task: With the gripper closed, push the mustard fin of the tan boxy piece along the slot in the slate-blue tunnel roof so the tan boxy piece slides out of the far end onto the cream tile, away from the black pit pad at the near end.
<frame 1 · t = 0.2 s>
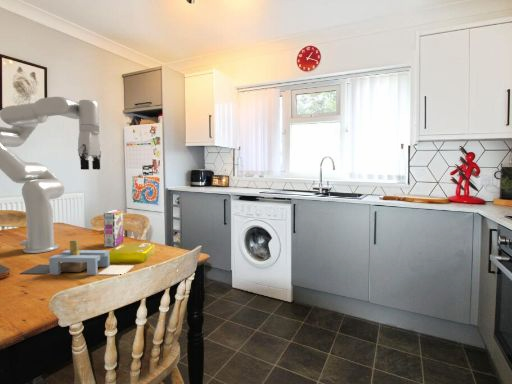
hand: (90, 169, 126), 36 cm above the table, tool pointing down, fingers open, 9 cm apart
element tile: (132, 258, 120), on the table
tunnel: (81, 269, 104), on the table
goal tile: (116, 270, 104), on the table
pit pad: (42, 269, 104), on the table
candy bar box: (114, 244, 139), on the table
tan boxy piece: (74, 254, 104), point 6 cm above the table, slide at -2.0 cm
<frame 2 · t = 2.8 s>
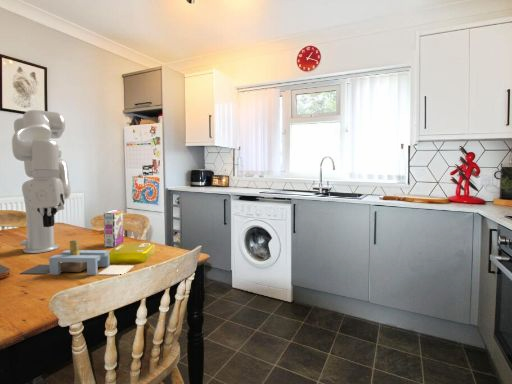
hand: (48, 226, 103), 16 cm above the table, tool pointing down, fingers closed
nothing on the table moved.
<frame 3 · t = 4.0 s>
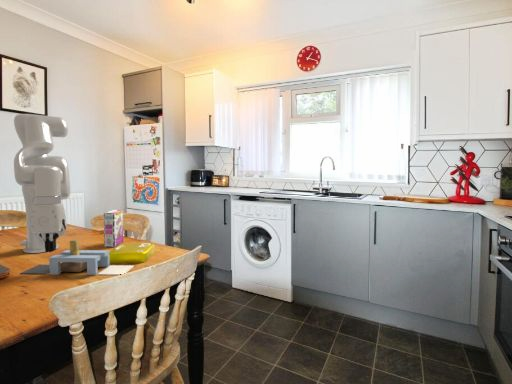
hand: (50, 251, 104), 7 cm above the table, tool pointing down, fingers closed
nothing on the table moved.
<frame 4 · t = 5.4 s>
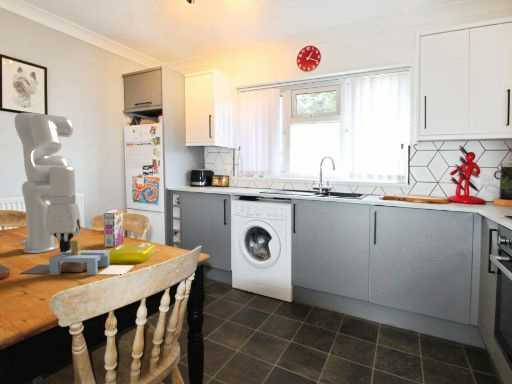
hand: (65, 251, 104), 7 cm above the table, tool pointing down, fingers closed
tan boxy piece: (76, 254, 104), point 6 cm above the table, slide at -1.6 cm, touching gripper
everything else where it was.
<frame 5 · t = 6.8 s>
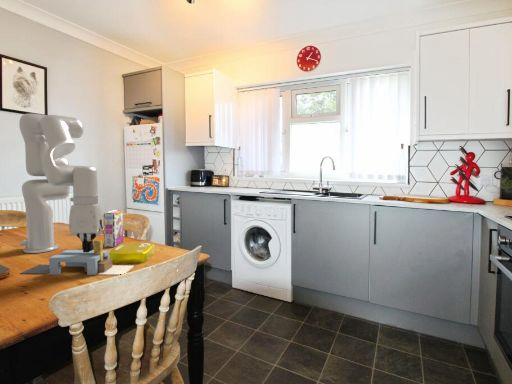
hand: (87, 251, 104), 7 cm above the table, tool pointing down, fingers closed
tan boxy piece: (98, 254, 104), point 6 cm above the table, slide at 6.6 cm, touching gripper
everything else where it was.
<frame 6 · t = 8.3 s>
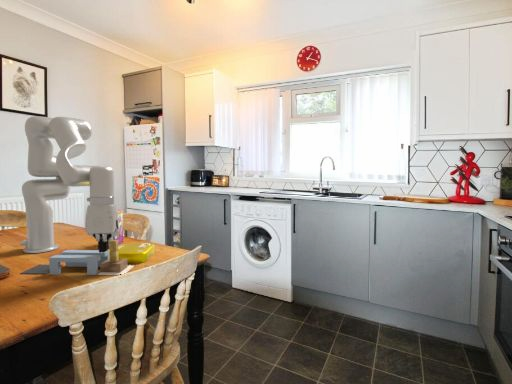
hand: (103, 251, 104), 7 cm above the table, tool pointing down, fingers closed
tan boxy piece: (114, 255, 104), point 6 cm above the table, slide at 12.2 cm, touching gripper
everything else where it was.
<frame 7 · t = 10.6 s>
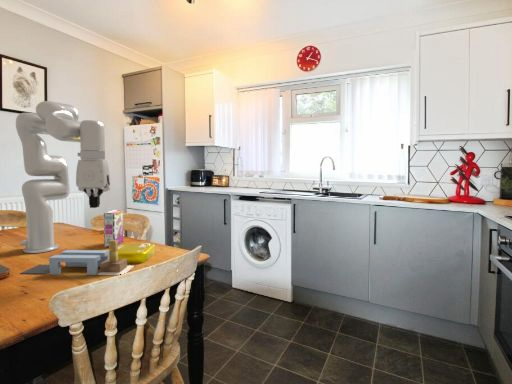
hand: (94, 207, 103), 23 cm above the table, tool pointing down, fingers closed
tan boxy piece: (113, 255, 104), point 6 cm above the table, slide at 12.0 cm
everything else where it was.
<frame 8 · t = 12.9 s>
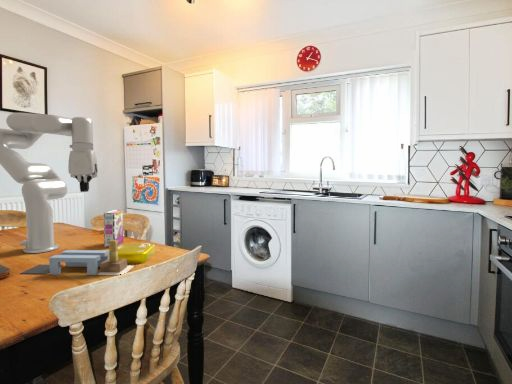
hand: (84, 191, 121), 27 cm above the table, tool pointing down, fingers closed
nothing on the table moved.
at the end: tan boxy piece slide at 12.0 cm; tan boxy piece 1.0 cm from the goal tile (horizontally) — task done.
